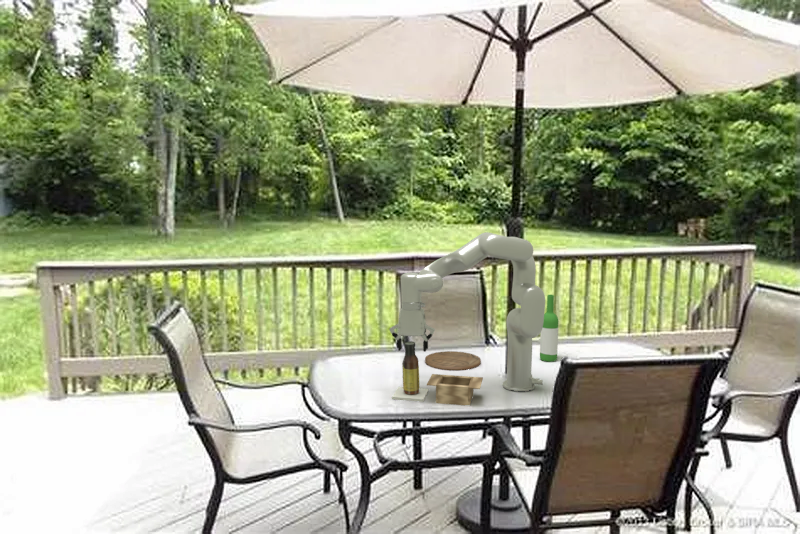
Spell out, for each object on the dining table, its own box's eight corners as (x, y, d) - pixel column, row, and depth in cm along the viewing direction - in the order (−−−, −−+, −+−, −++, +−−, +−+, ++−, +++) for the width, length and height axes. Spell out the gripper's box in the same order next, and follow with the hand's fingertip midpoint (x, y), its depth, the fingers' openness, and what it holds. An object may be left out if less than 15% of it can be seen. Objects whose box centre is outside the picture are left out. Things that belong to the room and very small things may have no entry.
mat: (428, 391, 250) (428, 388, 250) (423, 401, 239) (423, 399, 238) (398, 389, 253) (398, 386, 252) (391, 399, 241) (391, 396, 241)
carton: (482, 395, 246) (482, 377, 245) (479, 406, 234) (480, 388, 233) (432, 391, 250) (432, 373, 249) (426, 402, 238) (426, 384, 237)
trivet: (437, 352, 305) (437, 348, 305) (488, 359, 295) (488, 355, 294) (415, 366, 283) (415, 362, 283) (469, 374, 272) (469, 370, 272)
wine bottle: (540, 356, 298) (542, 293, 293) (557, 358, 295) (560, 294, 291) (538, 361, 290) (541, 296, 286) (556, 363, 288) (558, 297, 284)
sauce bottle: (410, 388, 250) (409, 339, 247) (422, 391, 246) (422, 341, 243) (399, 393, 245) (398, 342, 242) (412, 396, 241) (411, 345, 238)
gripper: (435, 304, 242) (436, 348, 245) (391, 303, 246) (392, 346, 249) (432, 308, 235) (433, 353, 238) (386, 307, 239) (387, 352, 241)
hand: (412, 350), depth 243 cm, fingers open, 9 cm apart
